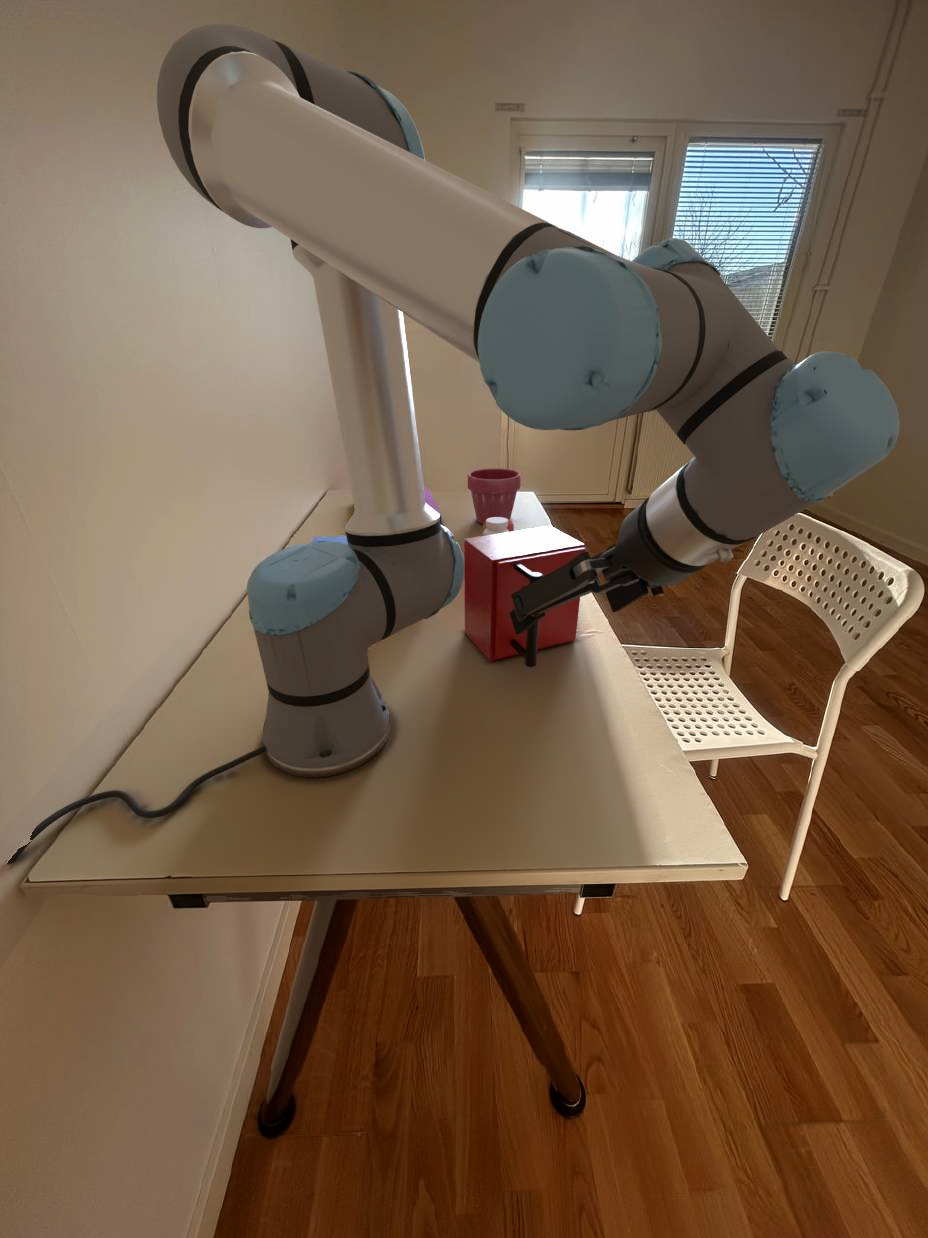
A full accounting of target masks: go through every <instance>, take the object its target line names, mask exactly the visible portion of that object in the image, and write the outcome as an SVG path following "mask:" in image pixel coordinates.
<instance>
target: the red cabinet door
mask: <svg viewBox="0 0 928 1238" xmlns="http://www.w3.org/2000/svg"><path fill="white" fill-rule="evenodd" d="M582 552H586V547H585V548H584V547H579V548H574V549H568V550H562V551H556V552H550V553H545V554H539V555H533V556H527V557H521V558H516V559H510V560H504V561H498V562H497V579H496V617H495V657H496V658H497V660H499V659H498V658H501V659H503V658H502V657H505V658H507V657H506V656H509V657H511V656H510V655H514V654H518V653H519V654H518V655H520V656H521V657H522V658H523V659H524V666H526V667H527V668H535V667H536V666H537V660H538V659H537V658H538V650H539V649H538V648H542V647H546V646H550V645H554V646H556V645H555V644H558V645H560V644H559V643H562V644H564V643H563V642H566V643H568V642H567V641H570V642H572V641H571V640H574V641H575V640H576V637H577V628H578V622H579V621H578V620H579V611H580V601H581V597H580V598H577V599H575V600H573V601H570V602H568V603H565V604H563V605H561V606H558V607H556V608H554V609H551V610H549V611H547V612H545V616H544V617H543V618H541V619H540V620H539V621H538V622H536V623H535V624H534V625H532V626H531V627H530V628H528V629H527V630H526V631H525V632H523V633H522V634H517V635H516V632H515V629H514V626H513V623H512V620H511V617H510V614H509V613H510V612H511V611H512V610H513V609H514V608H515V606H514V603H513V600H512V597H511V595H512V594H513V593H514V592H517V591H518V590H520V589H522V587H523V586H527V585H529V584H531V583H533V582H535V581H536V580H538V579H540V578H542V577H544V576H545V575H547V574H549V573H551V572H552V571H554V570H556V569H558V568H560V567H561V566H563V565H565V564H567V563H568V562H569V561H571V560H572V559H573V558H574V557H576V556H577V555H579V554H580V553H582ZM550 647H551V646H550ZM546 648H547V647H546ZM537 649H538V650H537ZM542 649H543V648H542ZM514 656H515V655H514Z"/></svg>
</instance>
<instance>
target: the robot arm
mask: <svg viewBox="0 0 928 1238" xmlns="http://www.w3.org/2000/svg"><path fill="white" fill-rule="evenodd" d="M160 65H161V66H160V69H159V74H158V77H157V83H156V84H157V85H156V86H157V87H156V89H157V91H156V106H157V113H158V121H159V125H160V128H161V132H162V137H163V140H164V142H165V145H166V147H167V149H168V151H169V154H170V156H171V158H172V160H173V162H174V163H175V165H176V167H177V169H178V170H179V172H180V173H181V174H182V176H183V177H184V178H185V179H186V181H187V183H189V185H190V186H191V187H192V188H193V189H194V190H195V191H196V192H197V193H198V194H199V195H200V196H201V197H202V198H203V199H204V200H205V201H207V202H208V203H210V204H211V205H212V206H214V207H215V208H216V209H217V210H218V211H221V212H223V213H224V214H226V215H227V216H229V217H230V218H232V219H233V220H235V221H236V222H239V223H240V224H242V225H244V226H247V227H251V228H255V229H269V228H273V229H275V230H276V231H277V232H279V233H280V234H282V235H284V236H285V237H287V238H288V239H289V240H290V244H291V249H292V255H293V258H294V260H296V261H297V262H298V264H300V265H301V266H302V267H303V268H304V269H305V270H306V271H307V272H308V273H309V274H310V276H311V277H312V279H313V284H314V290H315V296H316V302H317V307H318V312H319V318H320V323H321V329H322V335H323V340H324V345H325V351H326V357H327V362H328V369H329V373H330V380H331V385H332V390H333V397H334V402H335V408H336V414H337V418H338V425H339V429H340V430H339V431H340V436H341V441H342V447H343V452H344V457H345V463H346V468H347V474H348V480H349V485H350V491H351V496H352V502H353V508H354V512H353V514H352V516H351V517H350V518H349V519H348V521H347V523H346V524H345V525H344V530H345V536H347V542H348V546H347V545H345V544H343V543H339V542H335V541H315V542H313V543H311V544H310V543H308V544H307V543H305V542H304V543H303V542H302V543H299V544H295V545H292V546H288V547H286V548H283V549H280V550H278V551H276V552H275V553H272V554H271V555H269V556H267V557H266V558H263V560H262V561H260V562H259V563H258V564H257V565H256V566H255V567H254V568H253V570H252V572H251V574H250V576H249V577H248V580H247V583H246V593H247V601H248V602H247V603H248V617H249V622H250V623H251V625H252V629H253V631H254V636H255V640H256V644H257V648H258V652H259V656H260V660H261V664H262V669H263V673H264V677H265V681H266V686H267V691H268V696H267V703H266V712H265V719H264V723H263V726H262V743H263V745H262V746H261V747H259V748H256V749H254V750H252V751H250V752H247V753H246V754H244V755H241V756H240V757H237V758H235V759H233V760H231V761H229V762H227V763H225V764H223V765H220V766H218V767H216V768H214V769H211V770H209V771H207V772H205V773H204V774H202V775H200V776H199V777H198V778H196V779H194V780H193V781H191V782H190V784H188V785H187V786H186V788H185V789H184V790H183V791H182V792H181V793H180V794H179V796H178V797H176V798H175V800H174V801H173V802H171V803H170V804H169V805H167V806H165V807H163V808H160V809H156V810H146V809H145V808H143V807H142V806H140V804H138V802H137V801H136V800H135V798H133V797H132V796H131V794H128V792H125V791H122V790H117V789H116V790H115V789H113V790H106V791H103V792H99V793H95V794H91V795H89V796H86V797H83V798H80V799H78V800H76V801H74V802H71V803H70V804H67V805H66V806H63V807H62V808H59V810H57V811H55V812H54V813H52V814H51V815H49V816H48V817H46V818H45V819H43V820H42V821H41V822H40V823H39V824H38V825H36V826H35V827H36V828H35V827H34V828H35V829H34V828H33V829H34V831H33V832H32V835H31V836H30V837H31V838H30V840H32V841H31V842H29V843H28V844H27V845H25V846H23V847H21V848H19V849H18V850H17V852H16V853H15V854H14V855H13V856H12V858H11V859H10V860H9V861H8V863H7V865H6V866H8V865H11V864H13V863H15V862H16V861H17V860H18V858H19V857H20V856H21V855H22V853H23V852H24V851H25V849H26V848H27V847H28V846H29V845H30V844H31V843H32V842H33V841H34V839H36V838H37V837H38V835H40V834H41V833H42V832H43V831H44V830H46V828H48V827H49V826H51V825H52V824H54V823H55V822H56V821H58V820H59V819H60V818H62V817H64V816H65V815H68V814H69V813H71V812H72V811H74V810H76V809H79V808H81V807H84V806H86V805H89V804H91V803H95V802H97V801H101V800H104V799H109V798H117V799H118V798H119V799H121V800H123V802H125V804H126V805H127V806H128V808H130V810H131V811H132V812H133V813H134V814H135V815H137V816H139V817H141V818H144V819H156V818H160V817H163V816H164V817H165V816H166V815H168V814H170V813H172V812H173V811H175V810H176V809H178V807H180V806H181V804H182V803H184V801H185V800H186V799H187V798H188V796H189V795H190V794H191V793H192V792H193V791H194V790H195V789H196V788H198V787H199V786H200V785H201V784H203V783H204V782H206V781H208V780H209V779H211V778H213V777H216V776H217V775H219V774H222V773H224V772H226V771H229V770H231V769H233V768H235V767H237V766H239V765H241V764H243V763H245V762H247V761H249V760H252V759H253V758H255V757H257V756H260V755H262V754H264V753H265V754H266V757H267V759H268V760H269V761H270V763H271V764H272V765H273V766H275V767H276V768H277V769H278V770H280V771H282V772H284V773H286V774H289V775H293V776H297V777H304V778H322V777H329V776H330V777H331V776H335V775H339V774H343V773H346V772H349V771H351V770H354V769H356V768H357V767H360V766H362V765H363V764H365V763H367V762H368V761H369V760H371V759H372V758H374V756H375V755H377V754H378V753H379V752H380V751H381V749H383V747H384V746H385V744H386V743H387V741H388V739H389V736H390V732H391V717H390V712H389V709H388V705H387V703H386V700H385V699H384V698H383V696H382V694H381V691H380V690H379V688H378V686H377V684H376V682H375V680H374V678H373V676H372V675H371V671H370V661H369V652H368V650H369V648H370V647H371V646H374V645H376V644H377V643H380V642H381V641H383V640H386V639H388V638H390V637H392V636H393V635H395V634H398V633H399V632H402V631H403V630H405V629H407V628H409V627H411V626H413V625H414V624H416V623H419V622H420V621H422V620H427V619H429V618H431V617H433V616H435V615H436V614H437V613H439V612H440V611H441V610H442V609H444V608H446V607H447V606H448V605H450V604H451V603H453V601H454V600H455V599H456V597H458V595H459V592H460V591H461V588H462V585H463V583H464V554H463V551H462V548H461V546H460V543H459V542H457V541H456V542H455V540H454V538H455V536H454V534H453V533H452V532H451V531H450V530H449V529H448V528H447V527H446V526H444V525H442V522H441V523H440V515H439V514H438V513H437V512H436V511H435V510H433V509H432V508H431V507H430V506H428V504H427V503H426V501H425V493H424V488H425V486H424V478H423V470H422V469H423V468H422V461H421V452H420V444H419V436H418V427H417V420H416V411H415V403H414V396H413V387H412V378H411V372H410V371H411V370H410V363H409V354H408V345H407V338H406V330H405V322H404V315H405V316H407V317H408V318H410V319H412V320H413V321H414V322H416V323H417V324H419V325H421V326H422V327H424V328H425V329H427V330H428V331H430V332H432V333H433V334H435V335H436V336H438V337H439V338H440V339H442V340H443V341H445V342H447V343H448V344H450V345H451V346H453V347H454V348H456V349H457V350H459V351H460V352H462V353H463V354H465V355H466V356H468V358H471V359H473V360H474V361H475V362H477V363H478V364H479V370H480V373H481V375H482V378H483V382H484V383H485V385H486V386H487V387H488V390H489V391H490V393H491V395H492V397H493V399H494V400H495V404H496V406H497V407H498V408H499V409H500V410H501V412H502V413H504V414H505V416H507V417H508V418H510V419H511V420H513V421H514V422H515V423H516V424H517V423H518V424H520V425H521V426H524V427H526V428H530V429H532V430H541V431H555V430H560V431H561V430H562V431H583V430H587V429H591V428H595V427H600V426H603V425H605V424H607V423H609V422H612V421H616V420H620V419H624V418H628V417H631V416H635V415H639V414H644V413H649V412H652V411H656V412H657V413H658V415H660V417H661V418H662V419H663V420H664V421H665V423H666V425H668V427H669V428H670V429H671V430H672V431H673V433H674V435H676V436H677V438H678V439H679V440H680V442H681V443H682V444H683V445H685V446H686V447H687V448H688V450H689V451H690V453H691V454H692V455H693V458H691V459H690V460H689V461H688V462H686V463H685V465H683V466H682V467H681V468H679V469H678V470H677V471H675V473H674V474H673V475H672V476H669V478H668V479H667V480H665V482H663V483H662V484H661V485H659V486H658V488H656V489H655V490H654V491H653V492H652V493H651V494H650V496H648V497H647V498H646V499H644V501H642V502H641V503H640V504H639V505H638V506H637V507H635V508H634V510H632V511H631V512H630V513H629V514H628V515H627V516H626V517H625V518H624V519H623V520H622V522H621V525H620V527H619V531H618V535H617V540H616V543H614V544H611V545H609V546H608V547H607V548H606V549H605V550H604V551H603V552H600V553H598V554H596V555H593V556H591V554H590V551H585V552H582V553H580V554H579V555H577V556H576V557H574V558H573V559H572V560H571V561H569V562H568V563H567V564H565V565H563V566H561V567H560V568H558V569H556V570H554V571H552V572H551V573H549V574H547V575H545V576H544V577H542V578H540V579H538V580H536V581H535V582H533V583H531V584H529V585H527V586H523V587H522V589H520V590H518V591H517V592H514V593H513V594H512V595H511V597H512V600H513V603H514V606H515V608H514V609H513V610H512V611H511V612H510V613H509V614H510V617H511V620H512V623H513V626H514V629H515V632H516V635H517V634H522V633H523V632H525V631H526V630H527V629H528V628H530V627H531V626H532V625H534V624H535V623H536V622H538V621H539V620H540V619H541V618H543V617H544V616H545V612H547V611H549V610H551V609H554V608H556V607H558V606H561V605H563V604H565V603H568V602H570V601H573V600H575V599H577V598H580V599H581V598H582V597H584V596H586V595H589V594H591V593H593V594H594V593H595V594H598V595H602V594H604V593H605V596H606V598H607V601H608V603H609V606H610V609H611V612H612V613H617V612H620V611H622V610H623V609H625V608H626V607H628V606H629V605H631V604H633V603H634V602H636V601H637V600H639V599H642V598H643V597H645V596H646V595H648V594H649V593H650V592H651V594H652V596H653V597H658V596H660V595H662V594H664V593H665V591H664V588H663V586H673V585H676V584H678V583H680V582H682V581H684V580H686V579H688V578H689V577H691V576H693V575H694V574H696V573H698V572H699V571H701V570H703V569H704V568H706V567H707V565H709V564H711V563H714V562H715V561H717V560H720V562H722V563H728V562H730V561H732V559H734V553H733V551H732V550H734V549H736V548H739V547H741V546H742V545H744V544H746V543H749V542H750V541H752V540H754V539H755V538H757V537H758V536H761V535H762V534H764V533H766V532H768V531H769V530H771V529H773V528H775V527H777V526H778V525H780V524H782V523H784V522H785V521H788V520H789V519H790V518H793V517H794V516H796V515H798V514H800V513H801V512H803V511H805V510H807V509H809V508H810V507H812V506H814V505H816V504H817V503H820V502H822V501H824V500H826V498H828V497H829V496H830V495H832V494H834V493H835V492H837V491H838V490H839V489H841V488H842V487H845V486H846V485H847V484H849V483H850V482H852V481H854V480H855V479H856V478H858V477H859V476H861V475H863V474H864V473H866V472H867V471H869V470H870V469H872V468H873V467H875V466H877V465H878V464H880V463H881V462H883V461H884V460H885V459H886V458H887V457H888V456H889V454H890V452H891V451H892V450H893V449H894V447H895V445H896V444H897V440H898V437H899V434H900V428H901V427H900V416H899V409H898V407H897V404H896V402H895V399H894V398H893V395H892V393H891V392H890V390H889V389H888V387H887V385H886V384H885V383H884V381H883V380H882V379H881V378H880V377H879V376H878V375H877V374H876V373H875V372H874V371H873V370H872V369H866V368H864V367H863V366H861V364H860V362H859V361H858V360H857V359H856V358H855V357H853V356H851V355H849V354H846V353H843V352H839V351H833V350H831V351H830V350H829V351H828V350H826V351H819V352H816V353H814V354H811V355H809V356H808V357H806V358H805V359H803V360H802V361H800V362H797V363H795V362H794V361H793V360H792V358H790V357H787V356H786V354H785V353H784V352H783V351H782V350H780V348H778V346H777V345H776V344H775V342H774V341H773V340H772V339H771V338H770V337H769V335H768V334H767V333H766V332H765V330H764V329H763V328H762V327H761V325H760V324H759V323H758V322H757V320H756V319H755V318H754V317H753V315H752V314H751V313H750V312H749V310H748V309H747V308H746V307H745V306H744V305H743V303H742V302H741V301H740V300H739V298H738V297H737V296H736V295H735V294H734V292H733V291H732V290H731V288H730V287H729V286H728V285H727V284H726V282H725V281H724V280H723V279H722V277H721V272H720V270H719V269H717V267H716V266H715V264H713V263H710V262H709V261H707V260H706V259H705V258H704V257H702V255H700V254H699V252H698V251H697V250H696V249H695V248H694V247H692V245H691V244H690V243H689V242H687V241H686V240H684V239H683V238H679V237H671V238H666V239H664V240H662V241H661V242H660V243H658V244H657V245H651V246H649V247H647V248H645V250H643V251H642V252H640V253H639V254H638V255H636V257H634V258H633V259H632V260H630V259H627V258H624V257H622V256H619V255H617V254H615V253H613V252H611V251H609V250H607V249H605V248H604V247H601V246H599V245H597V244H595V243H593V242H591V241H589V240H587V239H585V238H583V237H581V236H579V235H577V234H575V233H573V232H571V231H569V230H567V229H563V228H560V227H559V226H557V225H555V224H553V223H551V222H548V221H547V220H545V219H543V218H542V217H540V216H537V215H534V214H533V213H531V212H529V211H527V210H525V209H523V208H521V207H519V206H517V205H515V204H513V203H511V202H509V201H507V200H505V199H503V198H501V197H499V196H497V195H495V194H493V193H492V192H489V191H487V190H485V189H483V188H481V187H479V186H477V185H475V184H473V183H471V182H469V181H467V180H466V179H464V178H461V177H459V176H457V175H455V174H453V173H451V172H449V171H447V170H445V169H444V168H442V167H439V166H438V165H435V164H434V163H432V162H429V161H427V160H426V157H425V151H424V147H423V143H422V139H421V136H420V133H419V130H418V128H417V126H416V123H415V122H414V120H413V118H412V116H411V114H410V113H409V111H408V109H407V107H405V106H404V104H403V103H402V102H401V101H400V100H399V98H397V96H396V95H394V94H393V93H391V92H390V91H388V90H386V89H384V88H383V87H381V86H380V85H378V84H377V83H375V82H374V81H373V79H371V78H369V77H368V76H366V75H364V74H361V73H358V72H356V71H351V70H343V69H341V68H339V67H336V66H334V65H332V64H329V63H327V62H325V61H323V60H320V59H319V58H316V57H314V56H312V55H309V54H307V53H305V52H302V51H300V50H298V49H296V48H294V47H291V46H289V45H287V44H284V43H282V42H281V41H277V40H275V39H272V38H271V37H269V36H268V35H265V34H263V33H260V32H258V31H255V30H253V29H251V28H247V27H245V26H240V25H234V24H229V23H210V24H206V25H205V24H204V25H201V26H197V27H194V28H192V29H189V31H187V32H185V34H183V35H181V36H180V37H179V38H178V39H177V40H176V41H174V43H173V44H172V45H171V46H170V48H169V49H168V51H167V53H166V55H165V56H164V59H163V61H162V63H161V64H160ZM598 573H602V576H603V578H604V580H605V582H606V583H603V584H601V581H600V578H599V575H598ZM649 590H650V591H649Z"/></svg>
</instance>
